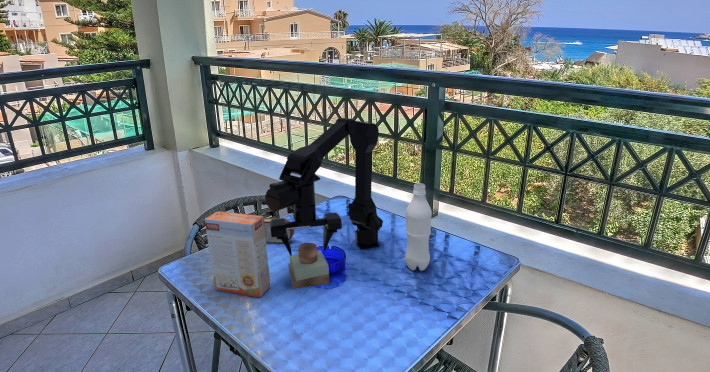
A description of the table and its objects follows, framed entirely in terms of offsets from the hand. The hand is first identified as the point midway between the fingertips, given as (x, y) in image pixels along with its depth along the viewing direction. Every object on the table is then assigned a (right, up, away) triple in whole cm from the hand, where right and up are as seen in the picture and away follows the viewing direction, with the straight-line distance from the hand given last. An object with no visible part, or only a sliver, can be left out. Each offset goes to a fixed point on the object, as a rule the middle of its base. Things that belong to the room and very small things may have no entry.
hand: (307, 252), depth 115 cm
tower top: (0, -5, +2) cm, 5 cm away
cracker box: (-17, -9, -2) cm, 20 cm away
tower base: (0, -8, +3) cm, 8 cm away
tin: (-14, -1, +24) cm, 28 cm away
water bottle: (+31, -5, +6) cm, 32 cm away
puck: (0, -2, +1) cm, 2 cm away
